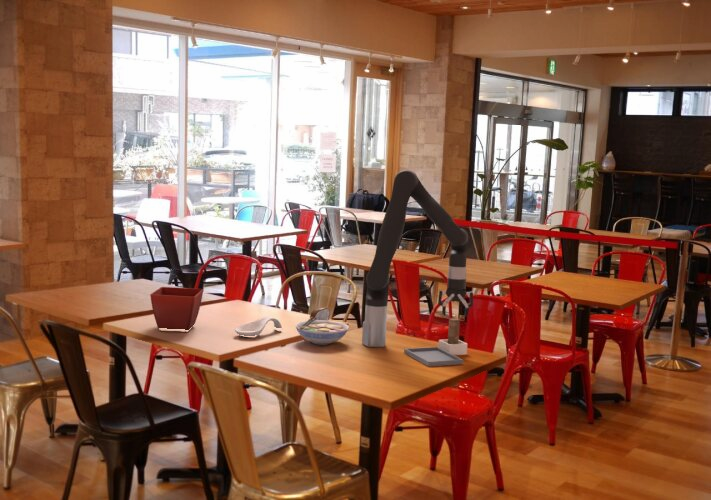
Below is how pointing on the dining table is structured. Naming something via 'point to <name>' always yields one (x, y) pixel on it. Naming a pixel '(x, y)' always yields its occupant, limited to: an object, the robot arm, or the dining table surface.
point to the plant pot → (176, 307)
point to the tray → (433, 356)
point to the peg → (453, 331)
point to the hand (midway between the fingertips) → (454, 315)
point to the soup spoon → (320, 314)
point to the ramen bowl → (321, 331)
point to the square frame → (454, 347)
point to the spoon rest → (256, 326)
